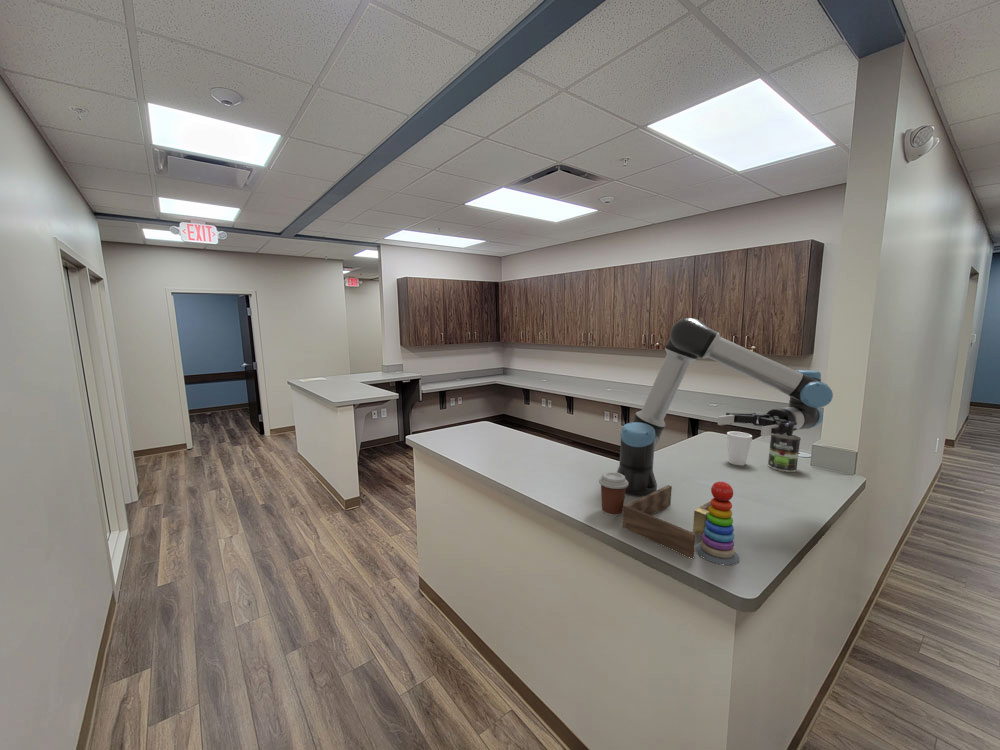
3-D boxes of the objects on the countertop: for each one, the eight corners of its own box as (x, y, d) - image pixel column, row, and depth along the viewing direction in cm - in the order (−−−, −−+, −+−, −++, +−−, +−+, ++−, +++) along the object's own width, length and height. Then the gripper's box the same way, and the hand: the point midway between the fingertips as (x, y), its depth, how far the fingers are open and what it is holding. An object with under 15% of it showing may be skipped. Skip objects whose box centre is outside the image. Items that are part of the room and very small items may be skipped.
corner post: (703, 535, 114) (705, 514, 113) (692, 531, 116) (694, 510, 115) (708, 532, 115) (709, 511, 115) (697, 528, 118) (699, 507, 117)
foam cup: (754, 466, 171) (756, 437, 169) (732, 466, 171) (735, 437, 169) (741, 459, 180) (743, 431, 178) (720, 459, 180) (722, 431, 179)
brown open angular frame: (691, 559, 102) (693, 535, 101) (622, 526, 118) (623, 505, 117) (733, 528, 118) (735, 507, 117) (667, 503, 134) (668, 485, 133)
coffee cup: (592, 511, 127) (593, 475, 126) (605, 502, 134) (607, 468, 133) (619, 521, 121) (621, 483, 120) (631, 511, 128) (633, 475, 127)
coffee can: (795, 474, 163) (799, 440, 161) (765, 467, 170) (768, 435, 168) (798, 467, 170) (802, 435, 168) (769, 462, 177) (773, 431, 175)
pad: (700, 561, 101) (700, 559, 101) (692, 541, 111) (692, 539, 111) (744, 568, 98) (744, 566, 98) (732, 547, 108) (733, 545, 108)
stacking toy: (740, 560, 101) (746, 489, 99) (707, 558, 102) (712, 487, 99) (726, 544, 108) (731, 478, 106) (695, 542, 109) (700, 476, 107)
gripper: (826, 441, 117) (782, 449, 108) (745, 422, 139) (702, 428, 131) (829, 416, 116) (784, 423, 107) (746, 401, 139) (704, 405, 130)
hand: (739, 425), depth 119 cm, fingers open, 13 cm apart
